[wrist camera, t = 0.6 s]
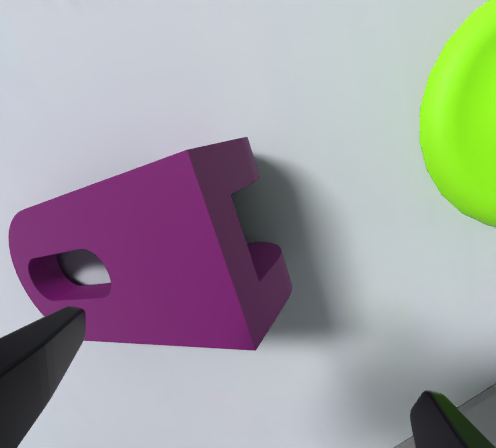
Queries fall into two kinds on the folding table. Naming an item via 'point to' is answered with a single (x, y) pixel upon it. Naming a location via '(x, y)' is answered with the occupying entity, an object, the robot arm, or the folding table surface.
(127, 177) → the mounting bracket
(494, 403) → the open box
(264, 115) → the folding table surface
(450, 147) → the wineglass
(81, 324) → the robot arm
